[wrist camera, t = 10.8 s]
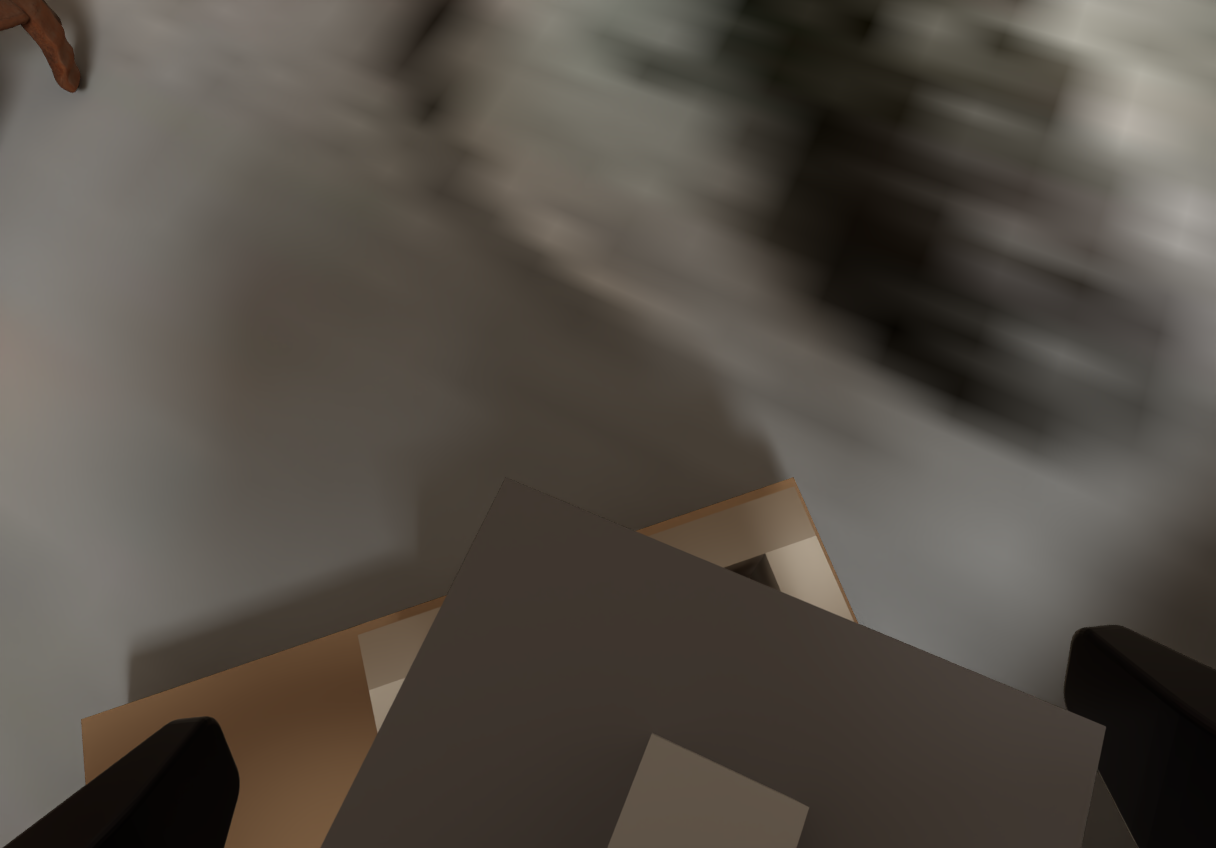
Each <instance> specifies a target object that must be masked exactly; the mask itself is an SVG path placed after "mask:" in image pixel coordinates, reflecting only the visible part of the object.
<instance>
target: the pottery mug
mask: <svg viewBox="0 0 1216 848" xmlns="http://www.w3.org/2000/svg"><path fill="white" fill-rule="evenodd" d="M20 24H21V25H22V27H23V28H24V29H25V30H26V31H27V32H28V33H29V34H30V35H31V37H32V38H33V39H34V40H35V41H36V42H37V44H38V45H39V47H40V48H41V49H42V51H43V54H44V55H45V57H46V59H47V61H48V63H49V65H50V67H51V69H52V72H53V75H54V78H55V80H56V81H57V83H58V84H59V85H60V87H61V88H63V89H65V90H67V91H69V92H72V93H73V92H75V91H76V90H77V88H78V86H79V81H80V77H81V76H80V71H79V69H78V67H77V65H76V63H75V61H74V53H73V48H72V47H71V45H70V44H69V43H68V41H67V40H66V38H65V32H64V29H63V27H62V23H61V21H60V19H59V17H58V16H57V15H56V13H55V12H54V11H53V10H52V9H51V8H50V7H49V6H48V5H47V4H46V2H45V1H44V0H0V31H2V30H6V29H9V28H13V27H15V26H17V25H20Z"/></svg>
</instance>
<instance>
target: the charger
mask: <svg viewBox="0 0 1216 848" xmlns="http://www.w3.org/2000/svg"><path fill="white" fill-rule="evenodd" d="M1105 730H1106V726H1104V725H1101V724H1099V723H1096V722H1094V721H1091V720H1089V719H1087V718H1084V717H1082V716H1079V715H1077V714H1075V713H1072V712H1070V711H1067V710H1065V709H1063V708H1060V707H1058V706H1055V705H1053V704H1051V703H1048V702H1046V701H1043V700H1041V699H1039V698H1036V697H1034V696H1031V695H1029V694H1026V693H1024V692H1022V691H1019V690H1017V689H1014V688H1012V687H1010V686H1007V685H1005V684H1002V683H1000V682H998V681H995V680H993V679H990V678H988V677H986V676H983V675H981V674H978V673H976V672H973V671H971V670H969V669H966V668H964V667H961V666H959V665H957V664H954V663H952V662H949V661H947V660H945V659H942V658H940V657H937V656H935V655H933V654H930V653H928V652H925V651H923V650H920V649H918V648H916V647H913V646H911V645H908V644H906V643H904V642H901V641H899V640H896V639H894V638H892V637H889V636H887V635H884V634H882V633H880V632H877V631H875V630H872V629H870V628H867V627H865V626H863V625H860V624H858V623H855V622H853V621H851V620H848V619H846V618H843V617H841V616H839V615H836V614H834V613H831V612H829V611H827V610H824V609H822V608H819V607H817V606H814V605H812V604H810V603H807V602H805V601H802V600H800V599H798V598H795V597H793V596H790V595H788V594H786V593H783V592H781V591H778V590H776V589H774V588H771V587H769V586H766V585H764V584H762V583H759V582H757V581H754V580H752V579H749V578H747V577H745V576H742V575H740V574H737V573H735V572H733V571H730V570H728V569H725V568H723V567H721V566H718V565H716V564H713V563H711V562H709V561H706V560H704V559H701V558H699V557H696V556H694V555H692V554H689V553H687V552H684V551H682V550H680V549H677V548H675V547H672V546H670V545H668V544H665V543H663V542H660V541H658V540H656V539H653V538H651V537H648V536H646V535H643V534H641V533H639V532H636V531H634V530H631V529H629V528H627V527H624V526H622V525H619V524H617V523H615V522H612V521H610V520H607V519H605V518H603V517H600V516H598V515H595V514H593V513H591V512H588V511H586V510H583V509H581V508H578V507H576V506H574V505H571V504H569V503H566V502H564V501H562V500H559V499H557V498H554V497H552V496H550V495H547V494H545V493H542V492H540V491H538V490H535V489H533V488H530V487H528V486H525V485H523V484H521V483H518V482H516V481H513V480H511V479H509V478H505V480H504V482H503V484H502V486H501V488H500V490H499V492H498V494H497V496H496V498H495V500H494V502H493V504H492V506H491V508H490V510H489V512H488V514H487V516H486V518H485V520H484V522H483V524H482V526H481V528H480V530H479V532H478V534H477V536H476V538H475V540H474V542H473V544H472V546H471V548H470V550H469V552H468V554H467V556H466V558H465V560H464V562H463V564H462V566H461V568H460V570H459V572H458V574H457V576H456V578H455V580H454V582H453V584H452V586H451V588H450V590H449V592H448V594H447V596H446V598H445V600H444V602H443V604H442V606H441V608H440V610H439V611H438V613H437V615H436V617H435V619H434V621H433V623H432V625H431V627H430V629H429V631H428V633H427V635H426V637H425V639H424V641H423V643H422V645H421V647H420V649H419V651H418V653H417V655H416V657H415V659H414V661H413V663H412V665H411V667H410V669H409V671H408V673H407V675H406V677H405V679H404V681H403V683H402V685H401V687H400V689H399V691H398V693H397V695H396V697H395V699H394V701H393V703H392V705H391V707H390V709H389V711H388V713H387V715H386V717H385V719H384V721H383V723H382V725H381V727H380V729H379V731H378V733H377V735H376V737H375V739H374V741H373V743H372V745H371V747H370V749H369V751H368V753H367V755H366V757H365V759H364V761H363V763H362V765H361V767H360V769H359V771H358V773H357V775H356V777H355V779H354V781H353V783H352V785H351V787H350V789H349V791H348V793H347V795H346V797H345V799H344V801H343V803H342V805H341V807H340V809H339V811H338V813H337V815H336V817H335V819H334V821H333V823H332V825H331V827H330V829H329V831H328V833H327V835H326V837H325V839H324V841H323V843H322V845H321V847H320V848H1081V847H1082V842H1083V837H1084V832H1085V827H1086V823H1087V818H1088V813H1089V808H1090V803H1091V798H1092V793H1093V788H1094V783H1095V779H1096V774H1097V769H1098V764H1099V759H1100V754H1101V749H1102V744H1103V740H1104V735H1105Z"/></svg>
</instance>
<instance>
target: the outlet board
mask: <svg viewBox="0 0 1216 848" xmlns="http://www.w3.org/2000/svg"><path fill="white" fill-rule="evenodd" d="M636 532H639V533H641V534H643V535H646V536H648V537H651V538H653V539H656V540H658V541H660V542H663V543H665V544H668V545H670V546H672V547H675V548H677V549H680V550H682V551H684V552H687V553H689V554H692V555H694V556H696V557H699V558H701V559H704V560H706V561H709V562H711V563H713V564H716V565H718V566H721V567H723V568H725V569H728V570H730V571H733V572H735V573H737V574H740V575H742V576H745V577H747V578H749V579H752V580H754V581H757V582H759V583H762V584H764V585H766V586H769V587H771V588H774V589H776V590H778V591H781V592H783V593H786V594H788V595H790V596H793V597H795V598H798V599H800V600H802V601H805V602H807V603H810V604H812V605H814V606H817V607H819V608H822V609H824V610H827V611H829V612H831V613H834V614H836V615H839V616H841V617H843V618H846V619H848V620H851V621H853V622H855V623H858V622H857V620H856V617H855V615H854V613H853V611H852V608H851V606H850V604H849V602H848V599H847V597H846V595H845V593H844V590H843V588H842V586H841V583H840V581H839V579H838V577H837V574H836V572H835V570H834V568H833V565H832V563H831V561H830V559H829V556H828V554H827V552H826V550H825V547H824V545H823V543H822V541H821V538H820V536H819V534H818V532H817V529H816V527H815V525H814V523H813V520H812V518H811V516H810V514H809V511H808V509H807V507H806V505H805V502H804V500H803V498H802V496H801V493H800V491H799V489H798V487H797V484H796V482H795V480H794V477H793V478H790V479H787V480H784V481H781V482H778V483H775V484H772V485H769V486H766V487H763V488H760V489H757V490H754V491H751V492H748V493H745V494H743V495H740V496H737V497H734V498H731V499H728V500H725V501H722V502H719V503H716V504H713V505H710V506H707V507H704V508H701V509H698V510H696V511H693V512H690V513H687V514H684V515H681V516H678V517H675V518H672V519H669V520H666V521H663V522H660V523H657V524H654V525H651V526H648V527H646V528H643V529H640V530H637V531H636ZM446 596H447V595H446ZM446 596H443V597H440V598H437V599H434V600H431V601H428V602H425V603H422V604H419V605H416V606H413V607H410V608H407V609H404V610H402V611H399V612H396V613H393V614H390V615H387V616H384V617H381V618H378V619H375V620H372V621H369V622H366V623H363V624H360V625H357V626H354V627H352V628H349V629H346V630H343V631H340V632H337V633H334V634H331V635H328V636H325V637H322V638H319V639H316V640H313V641H310V642H307V643H304V644H302V645H299V646H296V647H293V648H290V649H287V650H284V651H281V652H278V653H275V654H272V655H269V656H266V657H263V658H260V659H257V660H254V661H252V662H249V663H246V664H243V665H240V666H237V667H234V668H231V669H228V670H225V671H222V672H219V673H216V674H213V675H210V676H207V677H205V678H202V679H199V680H196V681H193V682H190V683H187V684H184V685H181V686H178V687H175V688H172V689H169V690H166V691H163V692H160V693H157V694H155V695H152V696H149V697H146V698H143V699H140V700H137V701H134V702H131V703H128V704H125V705H122V706H119V707H116V708H113V709H110V710H107V711H105V712H102V713H99V714H96V715H93V716H90V717H87V718H84V719H81V724H82V738H83V753H84V768H85V782H86V784H88V783H89V782H90V781H92V780H93V779H94V778H96V777H97V776H98V775H100V774H101V773H102V772H104V771H105V770H106V769H108V768H109V767H110V766H112V765H113V764H114V763H116V762H117V761H118V760H119V759H121V758H122V757H123V756H125V755H126V754H127V753H129V752H130V751H131V750H133V749H134V748H135V747H137V746H138V745H139V744H141V743H142V742H143V741H145V740H146V739H147V738H149V737H150V736H151V735H153V734H154V733H155V732H157V731H158V730H159V729H161V728H162V727H163V726H165V725H166V724H167V723H169V722H171V721H173V720H177V719H183V718H193V717H202V716H208V717H213V718H214V719H215V720H216V721H218V723H219V724H220V726H221V729H222V731H223V734H224V736H225V739H226V741H227V744H228V746H229V749H230V751H231V753H232V756H233V758H234V761H235V763H236V766H237V768H238V772H239V777H240V790H239V796H238V800H237V804H236V807H235V811H234V815H233V818H232V822H231V826H230V829H229V833H228V836H227V840H226V844H225V847H224V848H320V847H321V845H322V843H323V841H324V839H325V837H326V835H327V833H328V831H329V829H330V827H331V825H332V823H333V821H334V819H335V817H336V815H337V813H338V811H339V809H340V807H341V805H342V803H343V801H344V799H345V797H346V795H347V793H348V791H349V789H350V787H351V785H352V783H353V781H354V779H355V777H356V775H357V773H358V771H359V769H360V767H361V765H362V763H363V761H364V759H365V757H366V755H367V753H368V751H369V749H370V747H371V745H372V743H373V741H374V739H375V737H376V735H377V733H378V731H379V729H380V727H381V725H382V723H383V721H384V719H385V717H386V715H387V713H388V711H389V709H390V707H391V705H392V703H393V701H394V699H395V697H396V695H397V693H398V691H399V689H400V687H401V685H402V683H403V681H404V679H405V677H406V675H407V673H408V671H409V669H410V667H411V665H412V663H413V661H414V659H415V657H416V655H417V653H418V651H419V649H420V647H421V645H422V643H423V641H424V639H425V637H426V635H427V633H428V631H429V629H430V627H431V625H432V623H433V621H434V619H435V617H436V615H437V613H438V611H439V610H440V608H441V606H442V604H443V602H444V600H445V598H446Z"/></svg>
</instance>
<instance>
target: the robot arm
mask: <svg viewBox="0 0 1216 848" xmlns="http://www.w3.org/2000/svg"><path fill="white" fill-rule="evenodd" d="M1064 701H1065V705H1066V708H1067V711H1070V712H1072V713H1075V714H1077V715H1079V716H1082V717H1084V718H1087V719H1089V720H1091V721H1094V722H1096V723H1099V724H1101V725H1104V726H1106V730H1105V735H1104V740H1103V744H1102V749H1101V754H1100V759H1099V764H1098V769H1097V770H1098V772H1099V774H1100V776H1101V778H1102V780H1103V782H1104V784H1105V786H1106V788H1107V790H1108V792H1109V794H1110V796H1111V797H1112V799H1113V801H1114V803H1115V805H1116V807H1117V809H1118V811H1119V813H1120V815H1121V817H1122V819H1123V821H1124V823H1125V825H1126V827H1127V829H1128V831H1129V833H1130V834H1131V836H1132V838H1133V840H1134V842H1135V844H1136V845H1137V847H1138V848H1216V670H1214V669H1212V668H1210V667H1208V666H1206V665H1204V664H1202V663H1200V662H1198V661H1195V660H1193V659H1191V658H1189V657H1187V656H1185V655H1183V654H1181V653H1179V652H1177V651H1174V650H1172V649H1170V648H1168V647H1166V646H1164V645H1162V644H1160V643H1158V642H1155V641H1153V640H1151V639H1149V638H1147V637H1145V636H1143V635H1141V634H1139V633H1136V632H1134V631H1132V630H1130V629H1128V628H1126V627H1123V626H1120V625H1105V626H1095V627H1085V628H1081V629H1079V630H1077V631H1076V632H1075V634H1074V635H1073V637H1072V641H1071V646H1070V652H1069V658H1068V664H1067V670H1066V676H1065V682H1064ZM239 790H240V777H239V772H238V768H237V766H236V763H235V761H234V758H233V756H232V753H231V751H230V749H229V746H228V744H227V741H226V739H225V736H224V734H223V731H222V729H221V726H220V724H219V723H218V721H216V720H215V719H214V718H213V717H208V716H202V717H193V718H183V719H177V720H173V721H171V722H169V723H167V724H166V725H165V726H163V727H162V728H161V729H159V730H158V731H157V732H155V733H154V734H153V735H151V736H150V737H149V738H147V739H146V740H145V741H143V742H142V743H141V744H139V745H138V746H137V747H135V748H134V749H133V750H131V751H130V752H129V753H127V754H126V755H125V756H123V757H122V758H121V759H119V760H118V761H117V762H116V763H114V764H113V765H112V766H110V767H109V768H108V769H106V770H105V771H104V772H102V773H101V774H100V775H98V776H97V777H96V778H94V779H93V780H92V781H90V782H89V783H88V784H86V785H85V786H84V787H82V788H81V789H80V790H78V791H77V792H76V793H74V794H73V795H72V796H70V797H69V798H68V799H66V800H65V801H64V802H62V803H61V804H60V805H59V806H57V807H56V808H55V809H53V810H52V811H51V812H49V813H48V814H47V815H45V816H44V817H43V818H41V819H40V820H39V821H37V822H36V823H35V824H33V825H32V826H31V827H29V828H28V829H27V830H25V831H24V832H23V833H21V834H20V835H19V836H17V837H16V838H15V839H13V840H12V841H11V842H9V843H8V844H7V845H5V846H4V847H3V848H224V847H225V844H226V840H227V836H228V833H229V829H230V826H231V822H232V818H233V815H234V811H235V807H236V804H237V800H238V796H239Z"/></svg>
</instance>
